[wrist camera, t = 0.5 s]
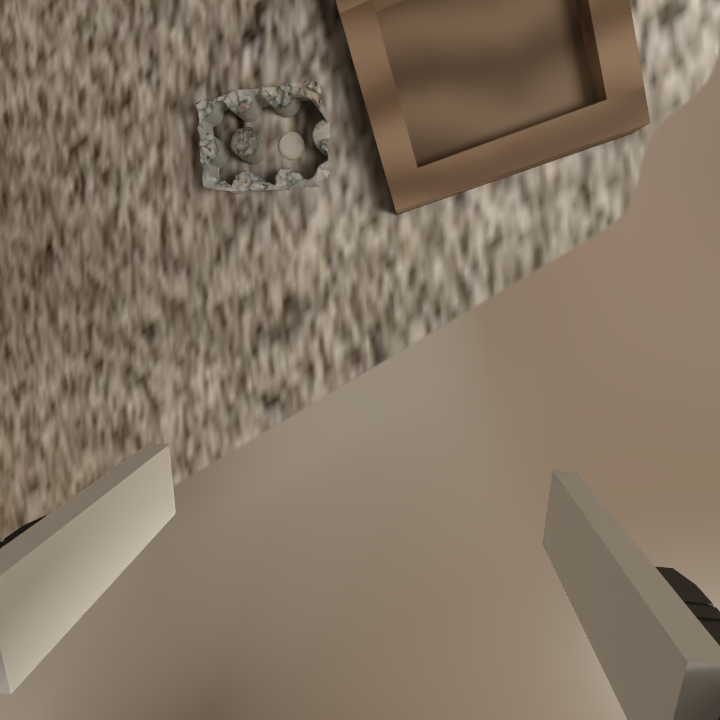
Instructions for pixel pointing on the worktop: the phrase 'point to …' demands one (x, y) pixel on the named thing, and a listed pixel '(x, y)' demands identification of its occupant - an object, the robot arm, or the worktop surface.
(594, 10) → the pocket board
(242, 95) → the egg carton
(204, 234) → the worktop surface
